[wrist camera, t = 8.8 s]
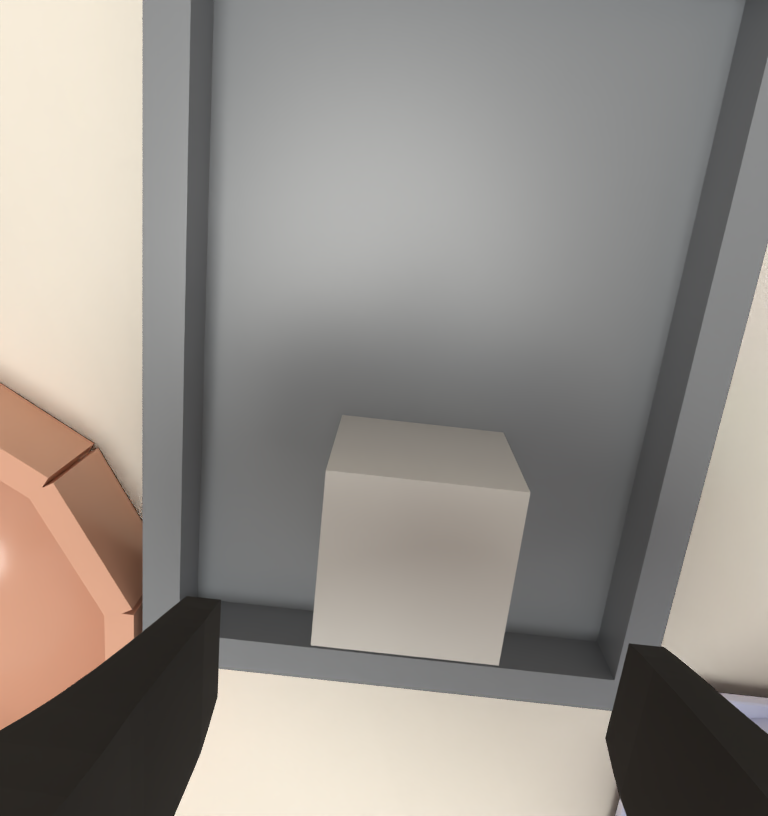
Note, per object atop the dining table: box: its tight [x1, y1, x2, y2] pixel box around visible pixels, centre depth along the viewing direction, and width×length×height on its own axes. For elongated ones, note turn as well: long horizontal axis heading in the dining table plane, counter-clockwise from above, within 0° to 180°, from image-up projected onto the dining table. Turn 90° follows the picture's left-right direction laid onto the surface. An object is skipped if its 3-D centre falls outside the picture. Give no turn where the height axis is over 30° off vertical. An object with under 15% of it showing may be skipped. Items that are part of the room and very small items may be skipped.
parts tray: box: [143, 0, 768, 711], centre depth 17 cm, size 14×19×2 cm
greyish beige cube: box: [311, 415, 530, 666], centre depth 17 cm, size 4×4×4 cm
